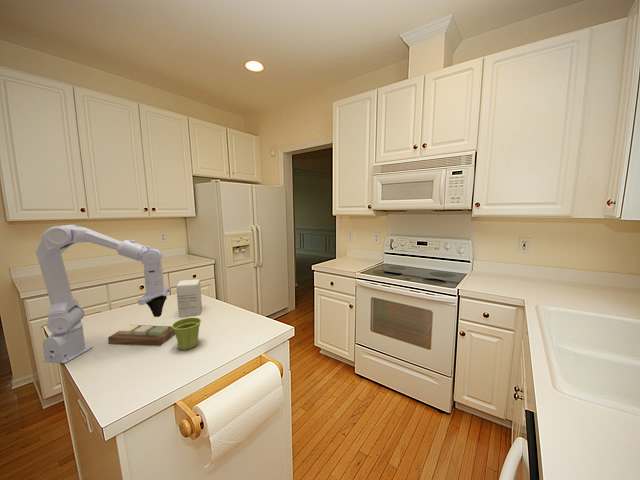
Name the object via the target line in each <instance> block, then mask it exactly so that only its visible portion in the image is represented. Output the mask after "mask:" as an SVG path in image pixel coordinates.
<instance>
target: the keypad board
mask: <svg viewBox="0 0 640 480" xmlns="http://www.w3.org/2000/svg"><path fill="white" fill-rule="evenodd" d="M136 325H137V326H139V328H140V327H141V326H147V325H139V324H136ZM152 326H153V328H155V327H157V326H158V325H152ZM165 326H166V327H168V331H167V332H165V333H164V334H162V335H161V336H153V335H149V333H148V334H146V335H134V333H132V334H130V335H127V334H119V330H118V331H117V332H114V333H113V334H111V335H109V336H108V337H107V341H108V342H107V343H108V344H109V345H131V346H133V345H134V346H153V347H154V346H155V347H157V346H159V347H161V346H162V345H164V344H165V343H166V342H168V340H170V339H171V338H172V337H174V336H176V334H175V332H174V329H173V328H172V325H171V326H169V325H168V326H167V325H165Z"/></svg>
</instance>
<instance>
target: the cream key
mask: <svg viewBox="0 0 640 480" xmlns="http://www.w3.org/2000/svg"><path fill="white" fill-rule="evenodd" d="M137 325H138V324H127V325H126V326H124V327H122V328H121V329H119V330H118V331H119V334H127V335H130V334H132V333H134V331H135V330H136V329H138V328H139V326H137Z"/></svg>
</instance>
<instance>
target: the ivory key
mask: <svg viewBox="0 0 640 480" xmlns="http://www.w3.org/2000/svg"><path fill="white" fill-rule="evenodd" d="M153 326H154V325H146V326H141V327H140V328H138V329H136V330H135V331H134V335H146V334H148V333H149V331H151V330H152V329H154V328H153Z"/></svg>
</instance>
